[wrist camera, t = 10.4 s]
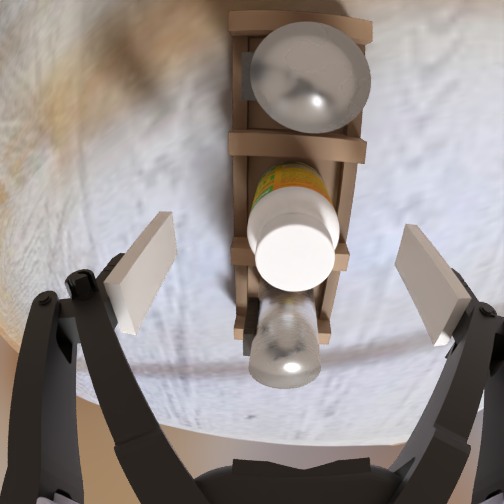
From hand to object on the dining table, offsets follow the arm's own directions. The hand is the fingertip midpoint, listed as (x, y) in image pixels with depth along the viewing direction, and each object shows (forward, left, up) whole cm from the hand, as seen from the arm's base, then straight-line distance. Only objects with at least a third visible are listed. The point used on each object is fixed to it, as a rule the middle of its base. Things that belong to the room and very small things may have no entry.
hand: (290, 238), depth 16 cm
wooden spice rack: (0, 0, -9) cm, 9 cm away
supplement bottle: (0, 0, -8) cm, 8 cm away
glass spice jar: (0, -9, -8) cm, 12 cm away
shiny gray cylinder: (0, +8, -8) cm, 11 cm away
